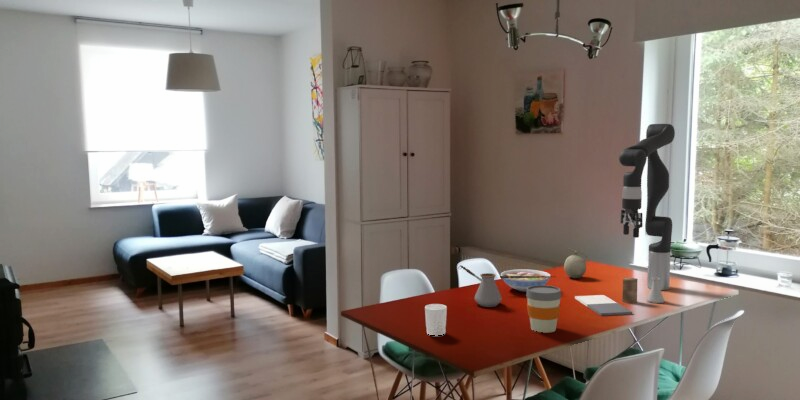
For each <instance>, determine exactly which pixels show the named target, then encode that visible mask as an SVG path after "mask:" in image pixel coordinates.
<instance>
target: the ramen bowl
mask: <svg viewBox="0 0 800 400" xmlns="http://www.w3.org/2000/svg"><path fill="white" fill-rule="evenodd" d="M499 278H500V279H502V280H503V282H504V283H505V284H506V285H507V286H508V287H510V288H512V289H514V290H517V291H518V292H523V293H527V288H528V287H530V286H535V285H547V283H548V282H549V281H550V279H551V278H556V276H551V274H550V273H549V272H546V271H543V270H536V269H529V268H528V269H524V268H522V269H509V270H504V271H503V272H501V273H500V275H499Z"/></svg>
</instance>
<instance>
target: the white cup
mask: <svg viewBox="0 0 800 400" xmlns="http://www.w3.org/2000/svg"><path fill="white" fill-rule="evenodd" d="M447 308H448V307H447V305H445V304H441V303H430V304H426V305H425V306H424V315H425V317H424V318H425V327H426V333H427V335H428V334H429V335H428V336H430V335H435V336H434V337H439V336H438V335H442V336H444V335H446V327H447V312H448V311H447V310H448V309H447ZM443 334H444V335H443Z"/></svg>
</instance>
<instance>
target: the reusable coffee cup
mask: <svg viewBox="0 0 800 400" xmlns="http://www.w3.org/2000/svg"><path fill="white" fill-rule="evenodd" d="M561 291H562V290H561V288H559V287H558V286H553V285H547V284H545V285H535V286H530V287H528V288H527V292H525V293H526V295H525V297H526V299H527V303H526V308H527V315H528V316H529V323H530V329H531V330H532V331H533V330H534V331H533V332H536V331H537V332H536V333H541V332H543V333H544V334H545V333H547V334H548V333H553V332H555V331H556V330H557V322H558V318H559V317H560V310H561V304H560V303H561V298H562V292H561ZM543 333H542V334H543Z"/></svg>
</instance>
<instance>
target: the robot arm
mask: <svg viewBox="0 0 800 400" xmlns="http://www.w3.org/2000/svg"><path fill="white" fill-rule="evenodd" d="M645 133H646V135H645V138H643V139H641V140H640V141H638V142H637V143H636V144H635V145H632V146H630V147H625V148H624V149H623V150H622V151H620V154H619V156H618V160H619V164H621V166H623V167H634V169H633V170H632V171H627V172H624V174H623V176H622V177H623V179H622V186H623V187H622V191H621V192H622V193H621V194H622V197H621V198H622V201H621V202H622V203H621V208H622V209H621V210H620V224H622V226H623V235H624V236H625V235H630V225H632V230H633V231H632V234H633V235H632V237H633V238H635V239H636V238H639V237H640V229H641V228H643V212H639V210H641V209H642V197H643V196H642V195H643V194H642V193H643V192H642V177H643V173H644V168H645V166H646V164H647V169H646V170H647V171H646V193H647V194H646V198H647V199H646V201H647V203H646V213H645V224H644V226H645V233H646V235H647V236H650V237H651V236H652V237H660V238H661V239H660V241H657V242H653V243H650V244H649V245H648V261H647V263H648V265H647V277H646V278H647V281H646V285H647V288H648V289H650V290H651V288H652V284H653V280H652V278H660V280H659V285H660V289H661V291H667V290H669V289H670V277H671V248H672V235H673V234H672V233H673V220H672V218H671V217H668V216H661V215H660V216H659V215H656V213H657V209H658V206H659V204H660V203H661V201H662V200H663V198H664V197H665V195H666V194H667V192H668V191H669V188H670V173H669V170H668V168H667V166H666V165H665V164H664V162H663V160H662V159H661V158H660V156H659V152H658V150H659V149H661V148H662V147H663V148H664V146H667V145H670V144H671V143H673V141H674V139H675V135H676V132H675V127H674V126H673V125H672V124H670V123H652V124H648V125H647V128H646V132H645Z"/></svg>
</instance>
